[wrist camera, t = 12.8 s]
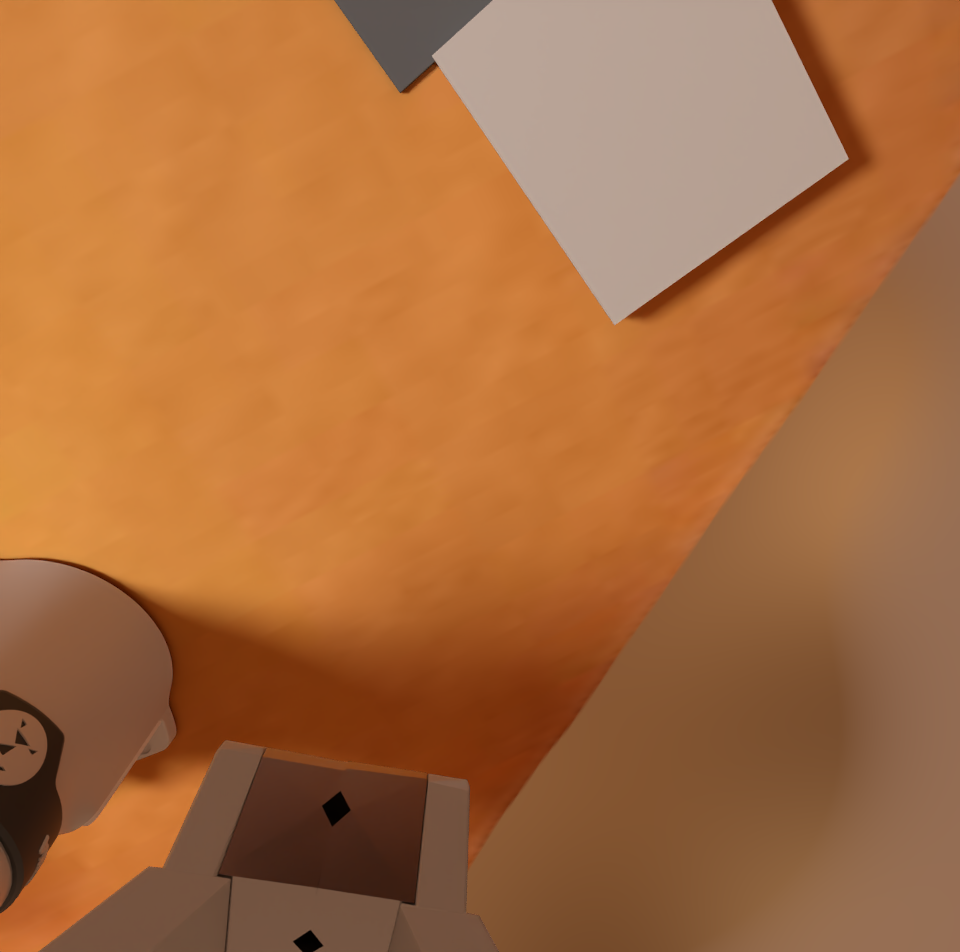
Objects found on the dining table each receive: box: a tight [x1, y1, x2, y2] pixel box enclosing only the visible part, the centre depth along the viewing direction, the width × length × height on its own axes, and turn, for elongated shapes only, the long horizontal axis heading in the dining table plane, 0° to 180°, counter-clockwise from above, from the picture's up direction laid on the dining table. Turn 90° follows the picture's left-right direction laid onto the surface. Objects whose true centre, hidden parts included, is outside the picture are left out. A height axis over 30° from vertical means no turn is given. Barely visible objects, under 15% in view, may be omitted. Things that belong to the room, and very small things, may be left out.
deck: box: [432, 0, 849, 325], centre depth 30 cm, size 12×14×2 cm
